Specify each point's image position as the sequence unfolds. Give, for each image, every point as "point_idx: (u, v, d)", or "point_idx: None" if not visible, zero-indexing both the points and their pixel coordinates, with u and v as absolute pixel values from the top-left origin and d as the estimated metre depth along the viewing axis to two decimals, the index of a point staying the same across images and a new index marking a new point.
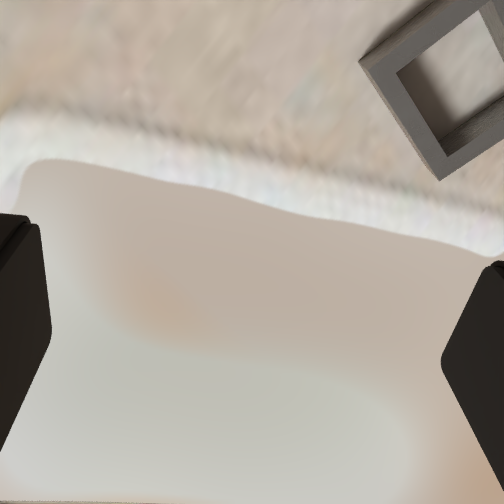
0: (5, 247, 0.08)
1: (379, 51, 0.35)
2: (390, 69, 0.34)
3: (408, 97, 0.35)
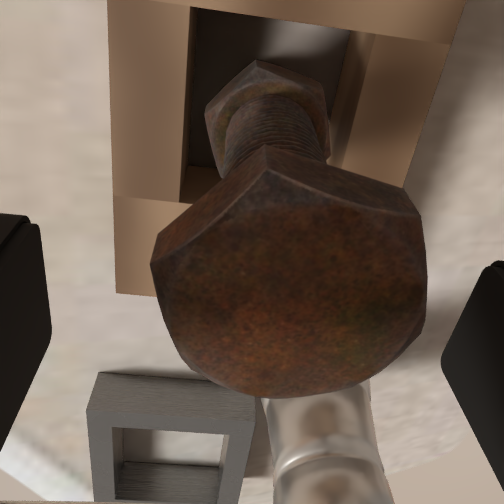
0: (5, 247, 0.08)
1: (118, 388, 0.30)
2: (108, 421, 0.29)
3: (110, 447, 0.31)
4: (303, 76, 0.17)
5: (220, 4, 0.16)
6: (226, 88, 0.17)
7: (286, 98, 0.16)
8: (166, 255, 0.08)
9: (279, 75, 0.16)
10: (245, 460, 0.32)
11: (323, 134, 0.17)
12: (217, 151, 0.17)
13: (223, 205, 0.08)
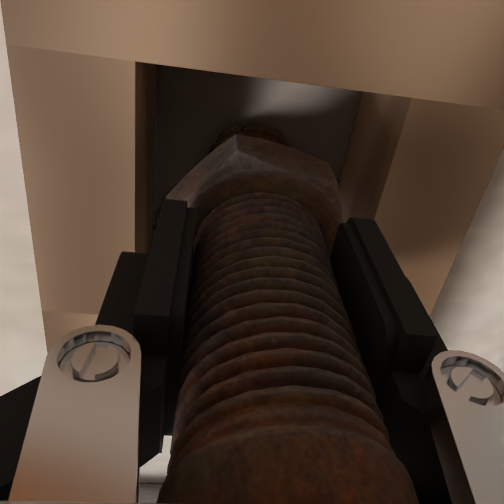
0: (184, 226, 0.09)
1: None
2: None
3: None
4: (305, 156, 0.12)
5: (181, 58, 0.11)
6: (194, 175, 0.12)
7: (282, 196, 0.11)
8: None
9: (271, 163, 0.11)
10: None
11: None
12: None
13: None
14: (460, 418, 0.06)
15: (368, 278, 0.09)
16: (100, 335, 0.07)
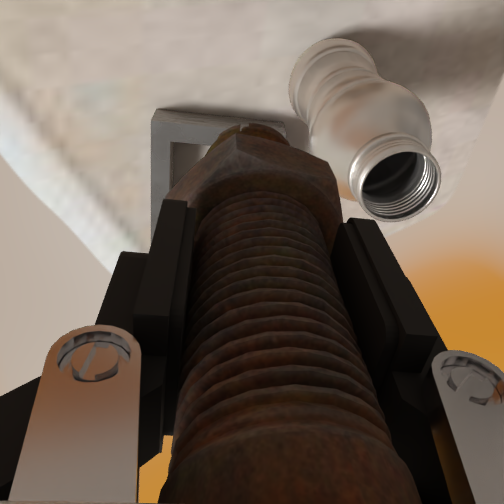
0: (184, 226, 0.09)
1: (174, 115, 0.38)
2: (168, 135, 0.37)
3: (168, 167, 0.38)
4: (305, 155, 0.12)
5: None
6: (193, 174, 0.12)
7: (282, 195, 0.11)
8: None
9: (271, 162, 0.11)
10: None
11: None
12: None
13: None
14: (460, 418, 0.06)
15: (368, 278, 0.09)
16: (100, 335, 0.07)
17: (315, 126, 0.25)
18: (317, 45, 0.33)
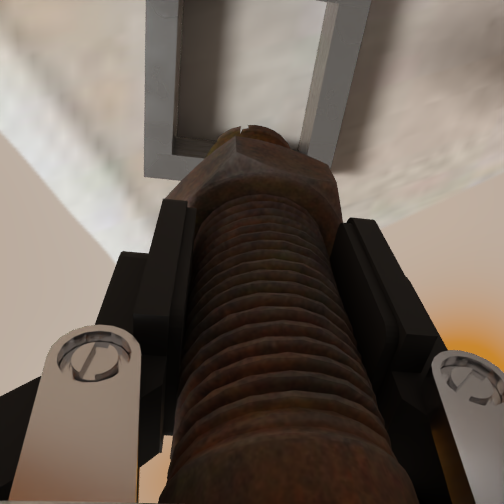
0: (184, 226, 0.09)
1: None
2: None
3: (174, 30, 0.23)
4: (305, 157, 0.12)
5: None
6: (193, 177, 0.12)
7: (282, 198, 0.11)
8: None
9: (271, 165, 0.11)
10: (353, 66, 0.24)
11: None
12: None
13: None
14: (460, 418, 0.06)
15: (368, 278, 0.09)
16: (100, 335, 0.07)
17: None
18: None
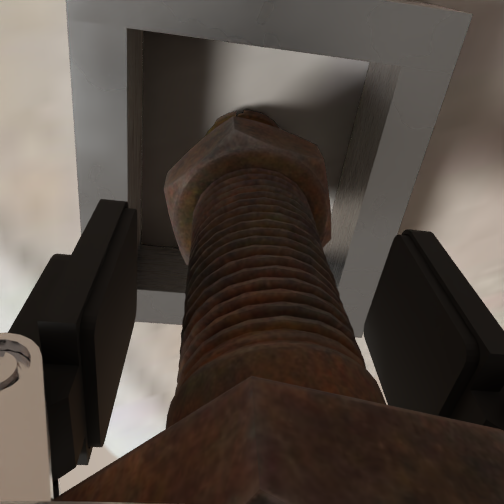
0: (118, 228, 0.09)
1: None
2: (119, 7, 0.12)
3: (122, 110, 0.13)
4: (296, 138, 0.13)
5: None
6: (194, 153, 0.13)
7: (274, 172, 0.12)
8: None
9: (265, 142, 0.12)
10: (418, 162, 0.15)
11: (323, 215, 0.13)
12: (181, 236, 0.13)
13: None
14: None
15: (438, 293, 0.08)
16: (2, 344, 0.06)
17: None
18: None
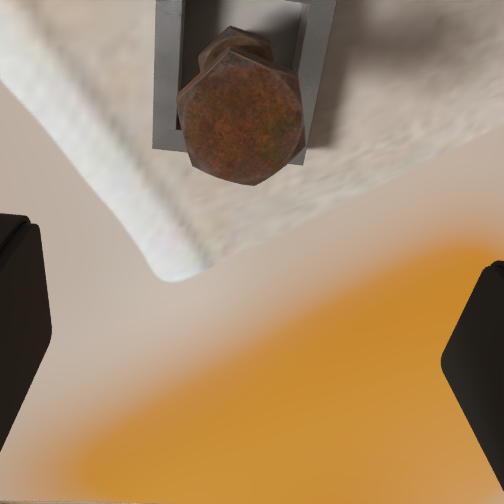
0: (5, 247, 0.08)
1: None
2: None
3: (178, 26, 0.28)
4: (260, 37, 0.28)
5: None
6: (211, 43, 0.27)
7: (248, 48, 0.27)
8: (184, 93, 0.19)
9: (244, 34, 0.26)
10: (323, 55, 0.29)
11: None
12: None
13: (210, 68, 0.18)
14: None
15: None
16: None
17: None
18: None
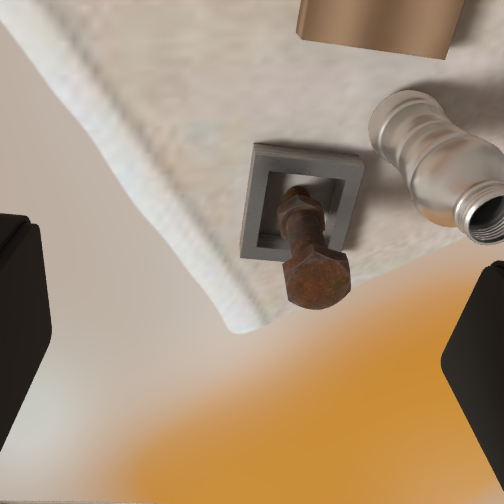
0: (5, 247, 0.08)
1: (270, 149, 0.45)
2: (267, 166, 0.44)
3: (264, 191, 0.45)
4: (314, 200, 0.45)
5: None
6: (285, 204, 0.45)
7: (309, 211, 0.44)
8: (289, 270, 0.36)
9: (307, 203, 0.44)
10: (353, 205, 0.47)
11: (322, 223, 0.45)
12: (281, 228, 0.45)
13: (303, 258, 0.36)
14: None
15: None
16: None
17: (420, 170, 0.32)
18: (397, 96, 0.41)
